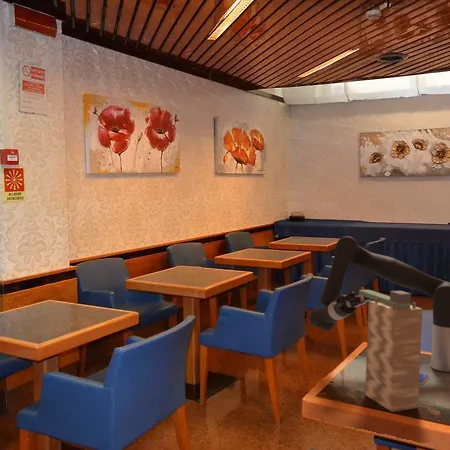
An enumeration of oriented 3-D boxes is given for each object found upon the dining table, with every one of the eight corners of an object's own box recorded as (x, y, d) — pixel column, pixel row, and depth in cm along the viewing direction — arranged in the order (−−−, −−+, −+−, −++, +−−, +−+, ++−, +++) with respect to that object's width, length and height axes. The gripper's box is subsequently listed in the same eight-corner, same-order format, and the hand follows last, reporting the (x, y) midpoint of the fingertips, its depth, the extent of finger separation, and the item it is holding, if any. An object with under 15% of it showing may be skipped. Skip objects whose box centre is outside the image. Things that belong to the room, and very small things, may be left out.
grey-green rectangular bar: (358, 294, 183) (359, 281, 182) (368, 294, 184) (369, 281, 184) (399, 308, 162) (400, 294, 162) (410, 308, 163) (411, 293, 163)
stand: (365, 394, 175) (368, 296, 172) (389, 391, 178) (393, 295, 176) (391, 411, 162) (396, 306, 159) (417, 407, 165) (422, 304, 162)
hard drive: (428, 374, 192) (394, 367, 199) (422, 381, 185) (388, 374, 192) (428, 378, 192) (394, 371, 199) (422, 385, 185) (387, 378, 192)
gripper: (322, 299, 196) (344, 284, 182) (355, 297, 201) (378, 282, 187) (327, 318, 193) (349, 305, 179) (360, 315, 198) (384, 302, 184)
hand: (364, 294), depth 183 cm, fingers open, 8 cm apart
